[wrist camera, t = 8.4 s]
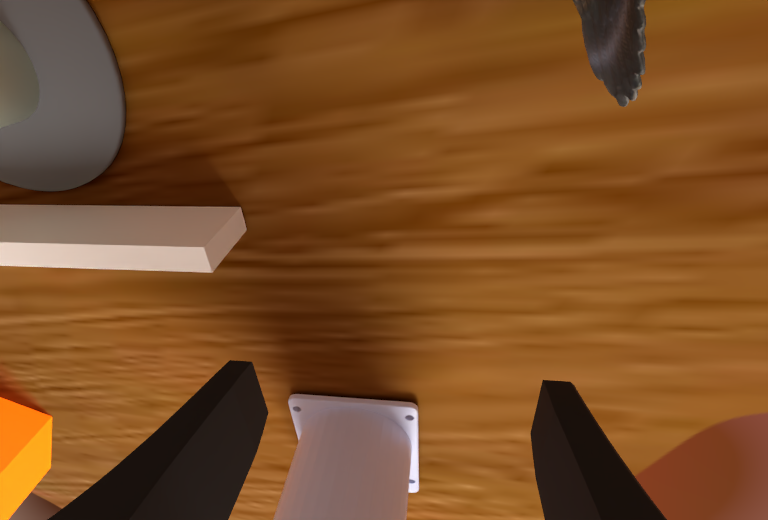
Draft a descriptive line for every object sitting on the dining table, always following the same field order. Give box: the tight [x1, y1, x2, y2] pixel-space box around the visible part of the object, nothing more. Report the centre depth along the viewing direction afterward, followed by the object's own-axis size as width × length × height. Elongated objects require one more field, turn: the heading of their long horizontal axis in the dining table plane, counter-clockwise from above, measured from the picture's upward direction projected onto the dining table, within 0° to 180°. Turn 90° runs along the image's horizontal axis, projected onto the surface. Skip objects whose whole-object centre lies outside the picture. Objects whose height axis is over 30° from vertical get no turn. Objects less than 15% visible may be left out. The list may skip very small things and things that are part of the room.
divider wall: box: [0, 204, 247, 273], centre depth 19 cm, size 1×18×4 cm, turn 93°
